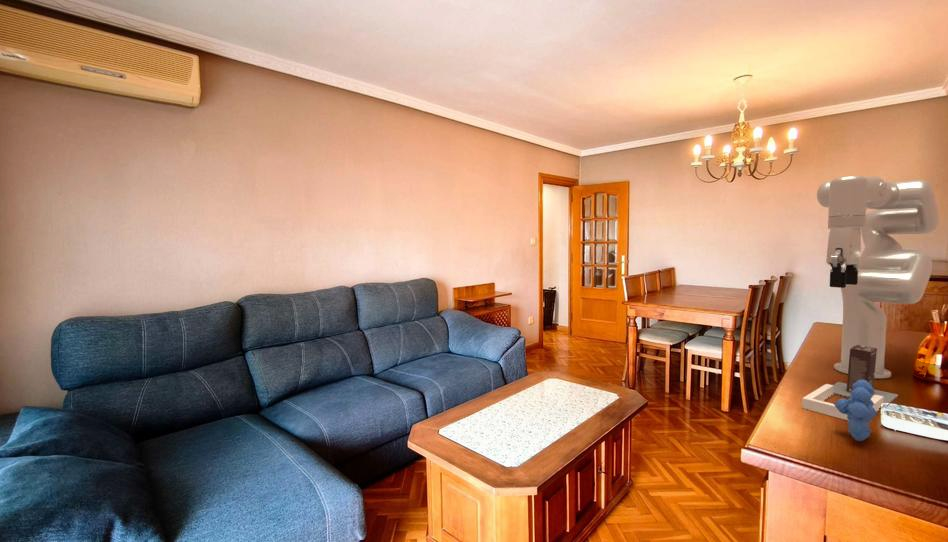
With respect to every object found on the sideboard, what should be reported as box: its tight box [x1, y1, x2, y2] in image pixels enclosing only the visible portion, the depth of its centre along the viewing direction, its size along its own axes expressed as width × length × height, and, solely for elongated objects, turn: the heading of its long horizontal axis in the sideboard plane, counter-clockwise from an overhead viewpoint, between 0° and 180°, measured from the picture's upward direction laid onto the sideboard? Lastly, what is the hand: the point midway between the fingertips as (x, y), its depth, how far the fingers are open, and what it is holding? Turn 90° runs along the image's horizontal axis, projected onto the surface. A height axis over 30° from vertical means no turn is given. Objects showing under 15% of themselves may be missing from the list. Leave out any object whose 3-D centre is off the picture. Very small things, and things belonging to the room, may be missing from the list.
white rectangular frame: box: [801, 383, 884, 422], centre depth 99 cm, size 16×11×2 cm, turn 123°
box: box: [846, 345, 877, 393], centre depth 107 cm, size 6×4×12 cm
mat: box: [833, 381, 899, 404], centre depth 107 cm, size 11×12×1 cm
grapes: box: [833, 380, 878, 442], centre depth 85 cm, size 12×7×12 cm, turn 132°
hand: (843, 285), depth 110 cm, fingers open, 9 cm apart
